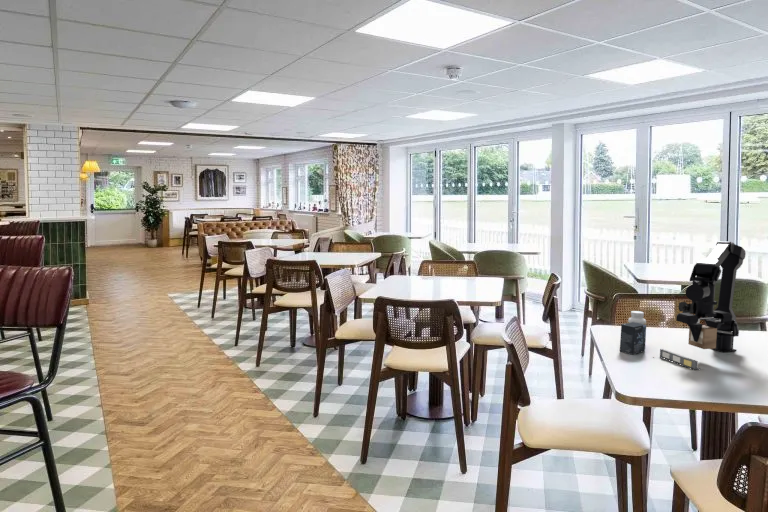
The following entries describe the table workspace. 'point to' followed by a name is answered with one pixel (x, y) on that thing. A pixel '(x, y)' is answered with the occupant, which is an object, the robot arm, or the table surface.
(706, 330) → the tea box
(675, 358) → the rail
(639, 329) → the box
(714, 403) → the table surface
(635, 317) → the supplement bottle
